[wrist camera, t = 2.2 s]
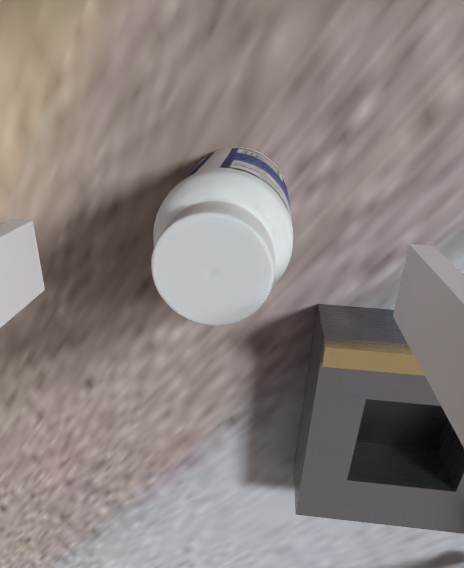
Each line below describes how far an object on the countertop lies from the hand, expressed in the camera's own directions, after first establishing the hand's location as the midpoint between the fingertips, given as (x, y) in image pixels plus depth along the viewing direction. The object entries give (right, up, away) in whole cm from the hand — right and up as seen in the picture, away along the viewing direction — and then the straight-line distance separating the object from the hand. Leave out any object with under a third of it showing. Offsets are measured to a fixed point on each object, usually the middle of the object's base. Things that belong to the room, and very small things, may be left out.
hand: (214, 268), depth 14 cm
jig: (+11, -8, +12) cm, 19 cm away
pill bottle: (+1, +4, +7) cm, 9 cm away
